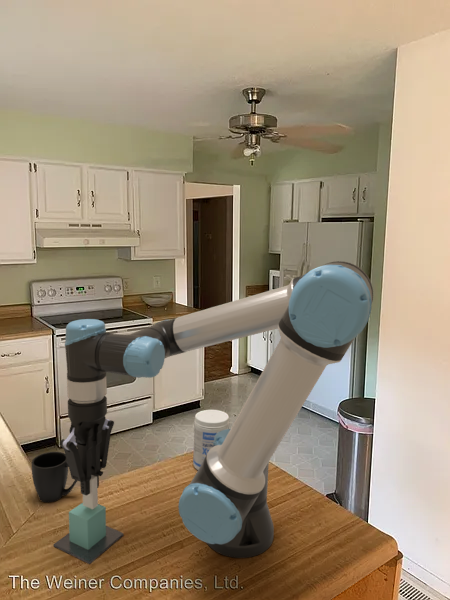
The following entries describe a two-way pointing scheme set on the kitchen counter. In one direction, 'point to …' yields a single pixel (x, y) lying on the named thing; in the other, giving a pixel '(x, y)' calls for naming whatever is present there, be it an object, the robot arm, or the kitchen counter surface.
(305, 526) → the kitchen counter surface
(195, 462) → the supplement tub
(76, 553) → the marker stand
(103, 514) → the teal rectangular block
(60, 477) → the mug
